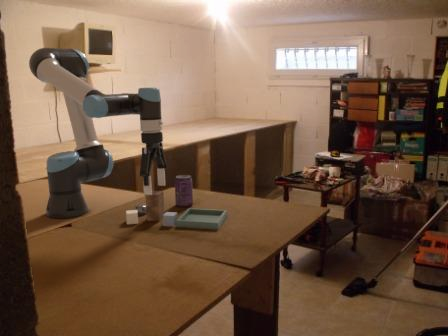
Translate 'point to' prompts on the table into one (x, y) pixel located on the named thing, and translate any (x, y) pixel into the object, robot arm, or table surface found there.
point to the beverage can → (183, 190)
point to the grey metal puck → (141, 209)
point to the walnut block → (155, 206)
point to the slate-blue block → (170, 219)
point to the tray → (202, 218)
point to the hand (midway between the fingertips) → (155, 189)
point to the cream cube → (132, 216)
